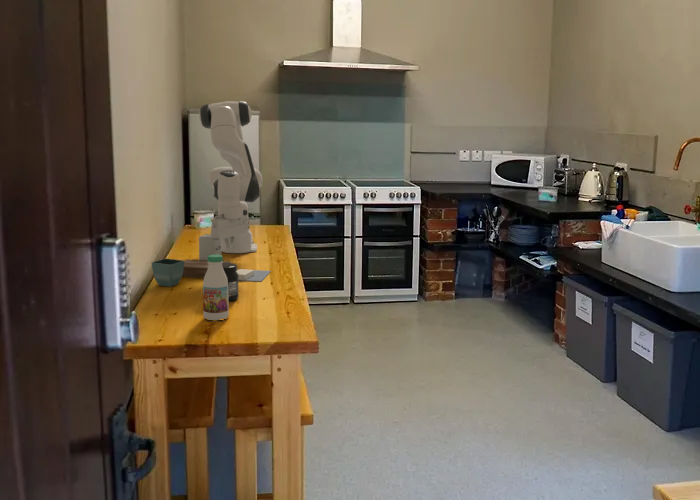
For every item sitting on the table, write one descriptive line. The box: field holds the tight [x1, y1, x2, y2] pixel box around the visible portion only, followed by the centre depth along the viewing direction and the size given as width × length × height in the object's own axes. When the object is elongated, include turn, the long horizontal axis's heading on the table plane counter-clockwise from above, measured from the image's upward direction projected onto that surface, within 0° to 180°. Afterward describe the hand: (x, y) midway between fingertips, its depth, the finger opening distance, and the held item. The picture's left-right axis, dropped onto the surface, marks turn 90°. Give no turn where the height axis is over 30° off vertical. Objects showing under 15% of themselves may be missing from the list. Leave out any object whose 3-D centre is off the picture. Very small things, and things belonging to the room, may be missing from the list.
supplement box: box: [198, 233, 222, 260], centre depth 288 cm, size 7×7×13 cm
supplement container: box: [222, 262, 239, 302], centre depth 235 cm, size 10×10×12 cm
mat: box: [237, 268, 272, 283], centre depth 271 cm, size 18×15×1 cm
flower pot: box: [151, 258, 185, 287], centre depth 253 cm, size 9×9×9 cm
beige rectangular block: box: [236, 268, 255, 280], centre depth 268 cm, size 9×6×2 cm, turn 164°
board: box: [182, 259, 231, 279], centre depth 272 cm, size 14×18×4 cm
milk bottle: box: [202, 254, 230, 320], centre depth 211 cm, size 8×8×20 cm
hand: (230, 247), depth 270 cm, fingers closed
